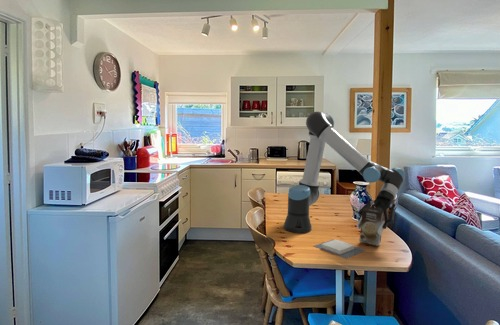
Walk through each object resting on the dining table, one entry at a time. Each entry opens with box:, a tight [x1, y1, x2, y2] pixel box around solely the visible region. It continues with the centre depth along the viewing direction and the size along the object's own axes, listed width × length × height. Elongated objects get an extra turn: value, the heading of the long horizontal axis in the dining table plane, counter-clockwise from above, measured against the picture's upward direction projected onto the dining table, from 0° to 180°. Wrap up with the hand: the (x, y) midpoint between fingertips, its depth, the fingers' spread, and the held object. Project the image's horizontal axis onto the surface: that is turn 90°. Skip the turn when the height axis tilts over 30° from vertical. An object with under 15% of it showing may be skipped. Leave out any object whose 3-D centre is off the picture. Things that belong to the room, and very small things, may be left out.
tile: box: [322, 238, 355, 255], centre depth 154 cm, size 10×2×11 cm
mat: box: [312, 239, 366, 260], centre depth 155 cm, size 18×16×1 cm
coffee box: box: [358, 207, 385, 247], centre depth 160 cm, size 9×6×16 cm
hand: (368, 230), depth 159 cm, fingers closed on coffee box, 10 cm apart
